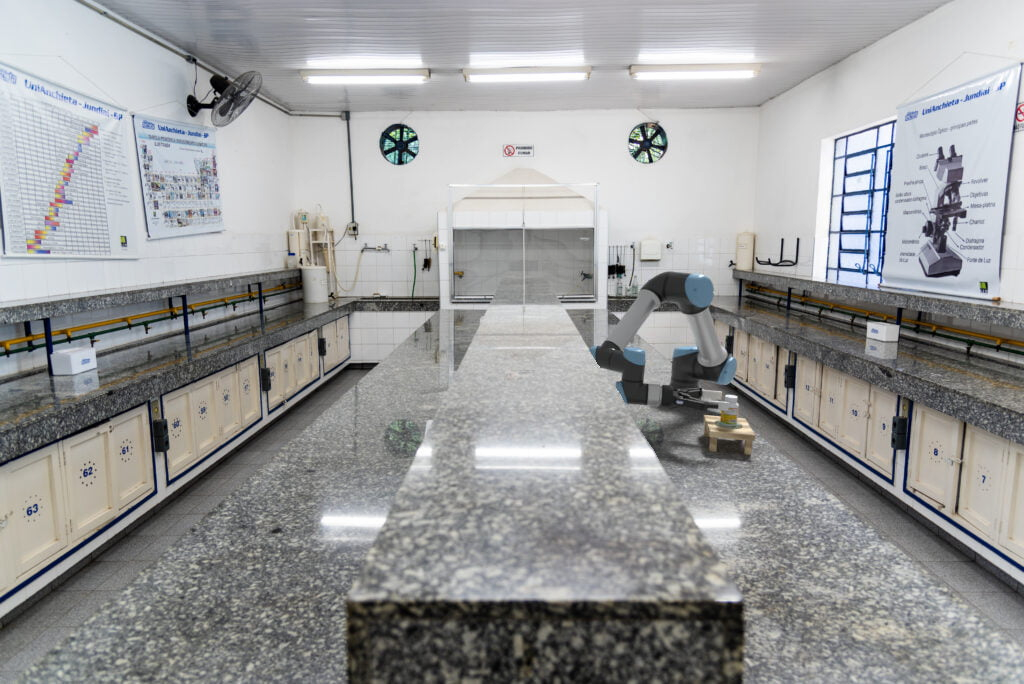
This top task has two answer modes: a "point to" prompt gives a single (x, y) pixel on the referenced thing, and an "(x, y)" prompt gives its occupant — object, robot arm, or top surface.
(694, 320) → the robot arm
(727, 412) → the supplement bottle
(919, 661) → the top surface
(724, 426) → the footstool
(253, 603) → the top surface
